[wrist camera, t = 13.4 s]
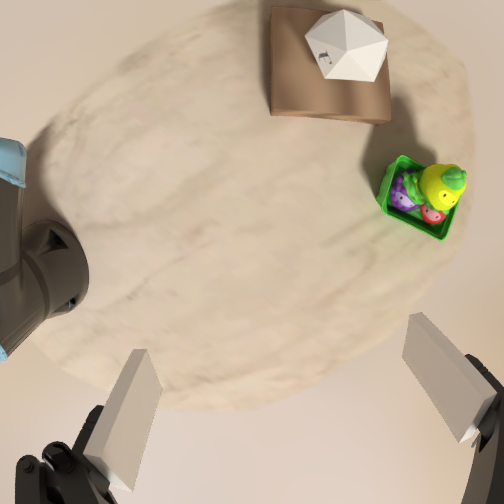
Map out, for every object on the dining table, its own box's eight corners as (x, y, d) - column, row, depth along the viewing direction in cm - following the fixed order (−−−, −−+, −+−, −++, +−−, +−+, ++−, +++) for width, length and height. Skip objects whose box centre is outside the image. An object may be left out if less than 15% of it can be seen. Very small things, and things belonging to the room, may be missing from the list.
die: (301, 22, 25) (284, 26, 20) (369, 4, 21) (374, 1, 15) (328, 78, 30) (319, 101, 24) (393, 64, 26) (405, 83, 20)
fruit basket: (363, 205, 36) (405, 223, 25) (384, 145, 33) (431, 141, 23) (425, 233, 37) (472, 257, 26) (444, 179, 35) (495, 188, 24)
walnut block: (270, 116, 33) (273, 109, 28) (269, 23, 29) (272, 6, 24) (374, 125, 33) (391, 121, 28) (368, 35, 29) (382, 22, 24)
